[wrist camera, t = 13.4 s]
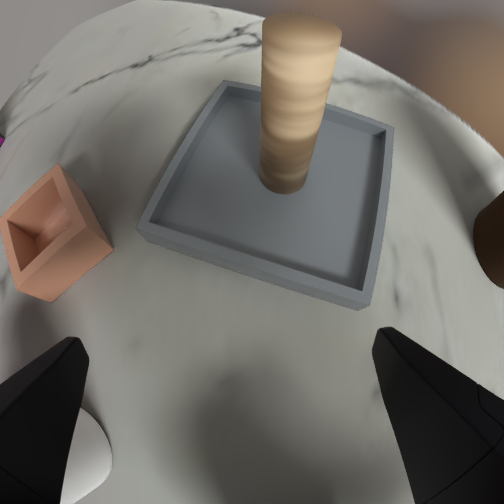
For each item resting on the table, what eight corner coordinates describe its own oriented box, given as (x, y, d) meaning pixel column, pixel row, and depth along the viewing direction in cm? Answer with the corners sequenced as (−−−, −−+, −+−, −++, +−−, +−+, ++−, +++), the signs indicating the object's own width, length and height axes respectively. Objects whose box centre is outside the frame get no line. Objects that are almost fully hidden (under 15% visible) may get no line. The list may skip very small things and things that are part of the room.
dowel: (315, 180, 24) (357, 37, 11) (278, 202, 24) (298, 51, 10) (287, 149, 25) (305, 8, 12) (250, 169, 25) (246, 20, 11)
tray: (385, 142, 27) (393, 127, 25) (358, 310, 22) (369, 305, 19) (224, 96, 29) (223, 80, 27) (145, 240, 24) (135, 228, 21)
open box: (114, 249, 23) (86, 225, 19) (51, 302, 22) (16, 289, 17) (82, 190, 25) (58, 163, 21) (28, 239, 24) (-2, 219, 19)
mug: (57, 501, 15) (-6, 534, 5) (11, 431, 17) (-61, 440, 7) (134, 466, 17) (69, 517, 8) (77, 383, 19) (-10, 387, 10)
